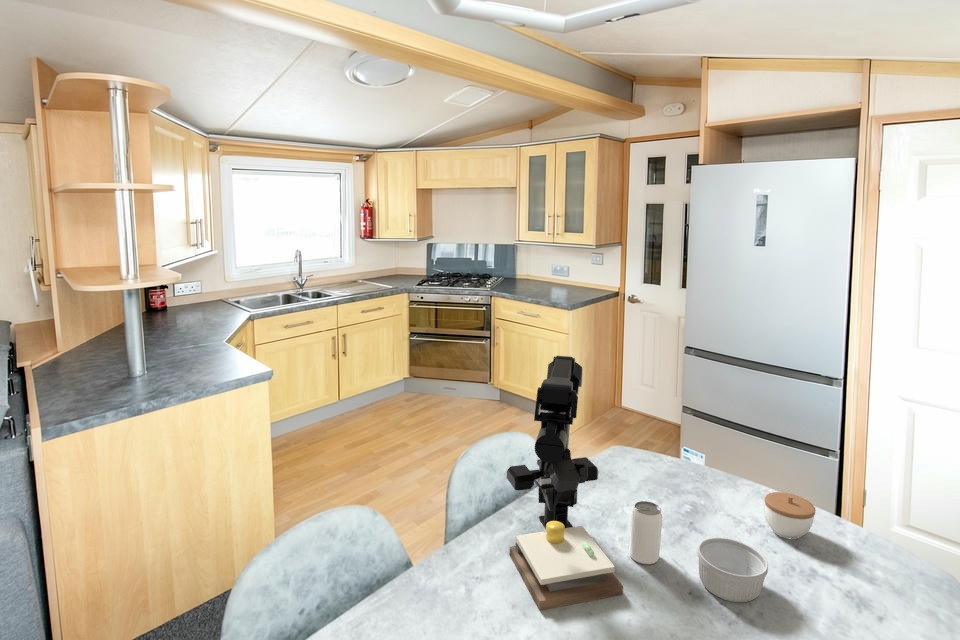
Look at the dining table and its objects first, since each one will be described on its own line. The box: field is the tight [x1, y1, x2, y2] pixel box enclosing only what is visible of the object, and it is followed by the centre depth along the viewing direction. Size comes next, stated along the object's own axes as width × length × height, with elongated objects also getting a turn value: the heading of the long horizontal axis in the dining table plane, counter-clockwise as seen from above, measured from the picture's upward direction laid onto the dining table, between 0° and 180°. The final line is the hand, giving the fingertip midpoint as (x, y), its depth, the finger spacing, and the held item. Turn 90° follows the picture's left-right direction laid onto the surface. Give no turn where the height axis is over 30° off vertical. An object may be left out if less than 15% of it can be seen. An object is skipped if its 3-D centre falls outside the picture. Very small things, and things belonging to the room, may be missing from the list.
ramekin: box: [696, 537, 769, 603], centre depth 115 cm, size 13×13×7 cm
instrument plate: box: [515, 521, 616, 585], centre depth 118 cm, size 15×16×4 cm
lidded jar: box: [763, 491, 817, 540], centre depth 134 cm, size 11×11×9 cm
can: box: [628, 500, 663, 566], centre depth 124 cm, size 6×6×12 cm
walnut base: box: [508, 541, 624, 611], centre depth 118 cm, size 18×18×4 cm
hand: (550, 509), depth 119 cm, fingers closed
